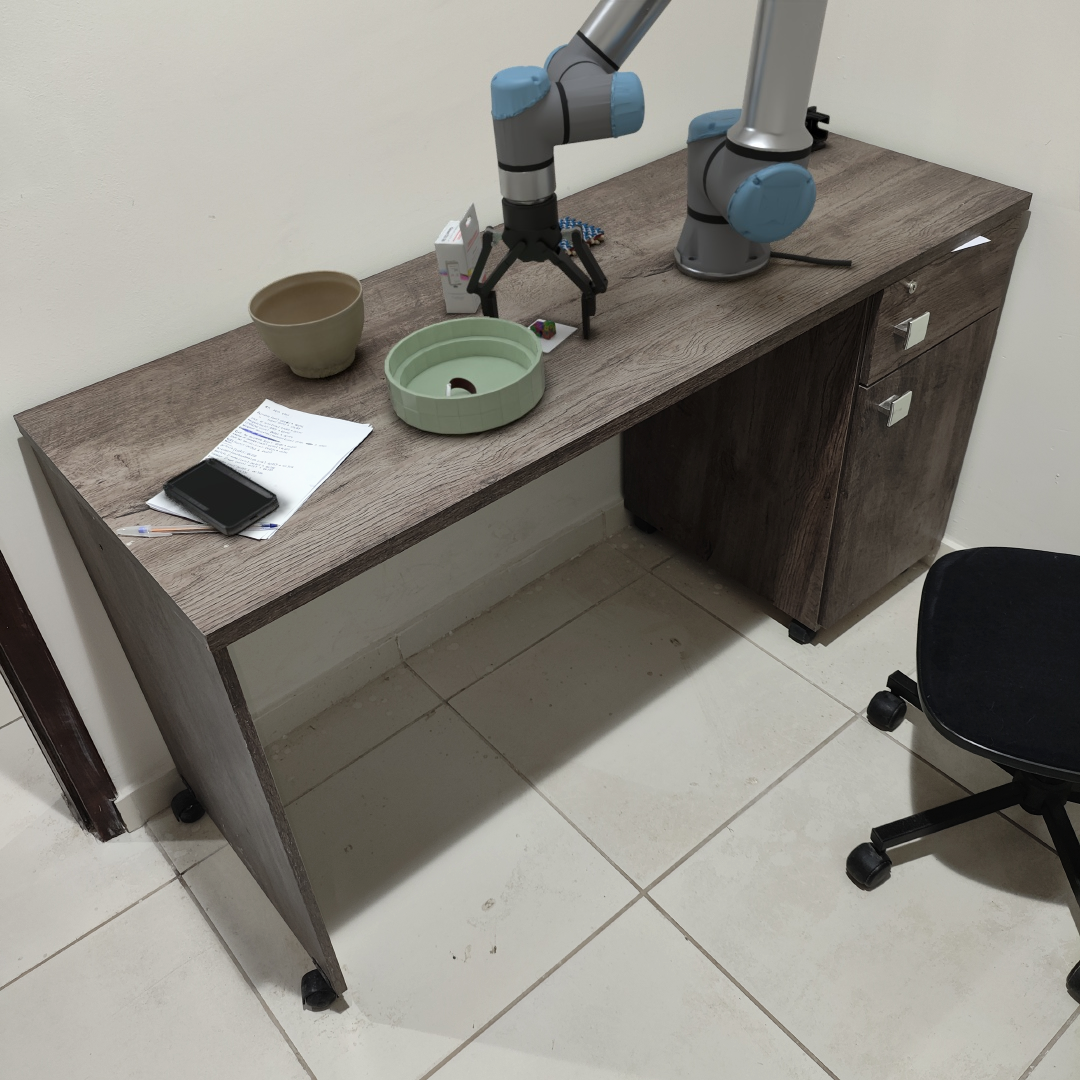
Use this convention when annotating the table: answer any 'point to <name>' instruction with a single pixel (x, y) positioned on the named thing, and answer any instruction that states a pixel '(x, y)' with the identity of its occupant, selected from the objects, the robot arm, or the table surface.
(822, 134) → the end cap
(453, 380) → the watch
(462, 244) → the ink cartridge box
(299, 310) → the planter bowl
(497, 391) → the bowl
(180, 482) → the phone
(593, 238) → the woven mat
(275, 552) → the table surface
